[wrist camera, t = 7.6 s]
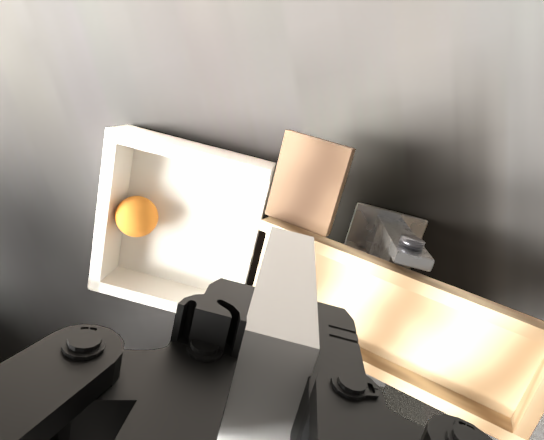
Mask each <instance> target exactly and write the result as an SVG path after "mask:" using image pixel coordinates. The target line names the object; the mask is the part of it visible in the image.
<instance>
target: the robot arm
mask: <svg viewBox="0 0 544 440" xmlns="http://www.w3.org/2000/svg"><path fill="white" fill-rule="evenodd" d="M358 342H359V341H358V336H357V334H356V327H355V322H354V320H353V318H352V317H351V316H350V315H349V313H348V312H347V311H346V310H345V309H344V308H340V307H336V306H332V305H328V304H325V303H321V302H317V286H316V266H315V246H314V237H311V236H307V235H304V234H300V233H296V232H292V231H288V230H284V229H280V228H276V227H273V226H272V228H271V232H270V236H269V239H268V243H267V246H266V250H265V253H264V257H263V260H262V264H261V267H260V271H259V275H258V278H257V282H256V285H255V287H254V286H250V285H246V284H242V283H238V282H234V281H231V280H227V279H223V278H220V279H218V280H216V281H214V282H213V283H211V284H209V286H208V288H207V290H206V291H205V293H204V294H195V295H192V296H188V297H185V298H183V299H182V300H181V301H180V302H179V303H178V304H177V310H176V315H175V320H174V325H173V330H172V336H171V341H170V343H169V345H168V346H166V347H164V348H160V349H155V350H123V347H124V342H123V340H122V339H121V337H120V335H119V334H117V333H116V332H114V331H113V330H111V329H110V328H106V327H103V326H99V325H90V324H80V325H74V326H68V327H65V328H63V329H60V330H58V331H55V332H53V333H51V334H50V335H48V336H46V337H45V338H43V339H41V340H39V341H38V342H36V343H34V344H33V345H31V346H29V347H27V348H26V349H24V350H22V351H21V352H19V353H17V354H15V355H14V356H12V357H10V358H9V359H7V360H5V361H3V362H2V363H0V440H492V439H491V438H490V437H489V436H488V435H487V434H485V433H484V432H483V431H481V430H480V429H478V428H477V427H476V426H475V425H473V424H471V423H469V422H468V421H465V420H463V419H461V418H458V417H454V416H450V415H446V414H443V415H435V416H433V417H432V418H431V419H430V420H429V421H428V423H427V425H426V427H425V428H424V427H422V426H420V425H418V424H416V423H414V422H412V421H410V420H408V419H406V418H404V417H402V416H400V415H398V414H397V413H395V412H393V411H391V410H390V409H389V408H387V406H386V403H385V399H384V396H383V394H382V392H381V390H380V388H379V386H378V385H377V384H376V383H375V382H374V381H373V380H372V379H371V378H370V377H369V376H367V375H366V374H365V369H364V364H363V360H362V355H361V350H360V346H359V344H358Z"/></svg>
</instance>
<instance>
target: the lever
mask: <svg viewBox="0 0 544 440" xmlns="http://www.w3.org/2000/svg"><path fill="white" fill-rule="evenodd" d="M355 150H356V149H355V148H351V147H348V146H344V145H341V144H337V143H334V142H330V141H327V140H324V139H320V138H317V137H313V136H310V135H306V134H303V133H299V132H296V131H292V130H285V133H284V137H283V142H282V146H281V150H280V154H279V158H278V162H277V166H276V170H275V174H274V178H273V182H272V186H271V190H270V194H269V198H268V202H267V206H266V210H265V214H266V215H268V216H270V217H267V218H265V219H262V220H261V223H260V227H259V230H260V231H263V232H265V233H266V236H265V240H264V244H263V248H262V252H261V256H260V260H259V263H258V267H257V271H256V275H255V279H254V283H253V286H254V287H255V285H256V282H257V278H258V275H259V271H260V267H261V264H262V260H263V257H264V253H265V250H266V246H267V243H268V239H269V236H270V232H271V228H272V226H273V227H276V228H280V229H284V230H288V231H292V232H296V233H300V234H304V235H307V236H311V237H314V246H315V266H316V286H317V302H321V303H325V304H328V305H332V306H336V307H340V308H344V309H345V310H346V311H347V312H348V313H349V315H350V316H351V317H352V318H353V320H354V322H355V327H356V334H357V336H358V341H359V342H358V344H359V346H360V350H361V355H362V360H363V364H364V369H365V373H366V374H368V375H370V376H372V377H374V378H376V379H378V380H380V381H382V382H384V383H386V384H388V385H390V386H392V387H394V388H396V389H398V390H400V391H402V392H404V393H406V394H408V395H410V396H412V397H414V398H416V399H418V400H420V401H422V402H424V403H426V404H428V405H430V406H432V407H434V408H436V409H438V410H440V411H442V412H444V413H446V414H448V415H450V416H454V417H458V418H461V419H463V420H465V421H468V422H469V423H471V424H473V425H475V426H476V427H477V428H478V429H480V430H481V431H483V432H485V433H487V434H489V435H491V436H493V437H495V438H497V439H499V440H529V438H530V436H531V435H532V433H533V431H534V429H535V427H536V426H537V424H538V422H539V420H540V419H541V417H542V415H543V413H544V321H543V320H540V319H538V318H535V317H532V316H530V315H527V314H524V313H522V312H519V311H517V310H514V309H511V308H509V307H506V306H504V305H501V304H498V303H496V302H493V301H491V300H488V299H485V298H483V297H480V296H477V295H475V294H472V293H470V292H467V291H464V290H462V289H459V288H457V287H454V286H451V285H449V284H446V283H443V282H441V281H438V280H436V279H433V278H430V277H428V276H425V275H423V274H420V273H417V272H415V271H412V270H410V269H407V268H404V267H402V266H399V265H396V264H394V263H391V262H389V261H386V260H383V259H381V258H378V257H376V256H373V255H370V254H368V253H365V252H363V251H360V250H357V249H355V248H352V247H349V246H347V245H344V244H342V243H339V242H336V241H334V240H331V239H329V238H326V237H327V236H328V235H330V232H331V229H332V226H333V222H334V219H335V216H336V213H337V209H338V206H339V203H340V199H341V196H342V193H343V190H344V186H345V183H346V180H347V176H348V173H349V170H350V166H351V163H352V160H353V157H354V153H355Z"/></svg>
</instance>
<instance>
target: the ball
mask: <svg viewBox="0 0 544 440" xmlns="http://www.w3.org/2000/svg"><path fill="white" fill-rule="evenodd" d="M115 222H116V225H117V227H118V228H119V229H120V231H122V232H123V233H124V234H126V235H128V236H131V237H142V236H145V235H147V234H149V233H150V232H152V231H153V230H154V228H155V227H156V225H157V222H158V211H157V208H156V206H155V205H154V204H153V202H152V201H150V200H149V199H147V198H145V197H142V196H131V197H128V198H126V199H124V200H123V201H122V202H120V204H119V205H118V206H117V208H116V211H115Z"/></svg>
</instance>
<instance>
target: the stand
mask: <svg viewBox="0 0 544 440" xmlns="http://www.w3.org/2000/svg"><path fill="white" fill-rule="evenodd" d="M427 224H428V221H427V220H426V219H422V218H418V217H414V216H410V215H406V214H403V213H399V212H395V211H391V210H387V209H383V208H379V207H376V206H372V205H368V204H364V203H360V202H357V205H356V208H355V211H354V214H353V217H352V220H351V223H350V227H349V230H348V233H347V236H346V239H345V242H344V245H347V246H349V247H352V248H355V249H357V250H360V251H363V252H365V253H368V254H370V255H373V256H376V257H378V258H381V259H383V260H386V261H389V262H391V263H394V264H396V265H399V266H402V267H404V268H407V269H411V267H413V268H417V269H421V270H425V271H428V272H431V269H432V267H433V264H434V262H435V260H434V259H433V258H432V256H431V255H430V254H429V252H428V251H427V250H426V248H425V247H424V245H425V241H424V240H422V237H423V234H424V232H425V229H426V226H427ZM365 374H366V373H365ZM366 375H367V376H369V377H370V378H371V379H372V380H373V381H374V382H375V383H376V384H377V385H378V386H381V387H385V385H386V383H384V382H382V381H380V380H378V379H376V378H374V377H372V376H370V375H368V374H366Z"/></svg>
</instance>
